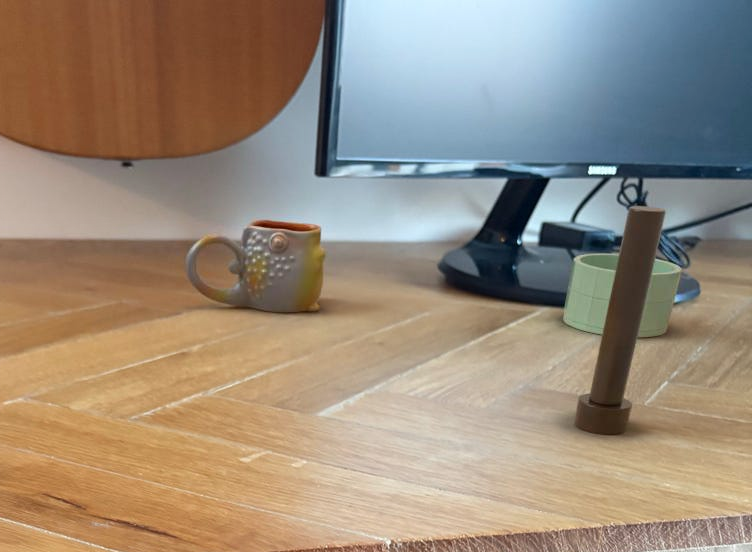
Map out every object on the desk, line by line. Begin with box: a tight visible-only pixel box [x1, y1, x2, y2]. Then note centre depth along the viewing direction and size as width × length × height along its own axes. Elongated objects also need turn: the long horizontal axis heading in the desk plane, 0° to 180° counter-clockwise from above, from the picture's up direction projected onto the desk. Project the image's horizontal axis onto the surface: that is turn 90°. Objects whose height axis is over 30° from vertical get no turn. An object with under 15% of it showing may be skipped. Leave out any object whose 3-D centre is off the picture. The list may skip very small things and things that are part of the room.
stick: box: [573, 205, 667, 435], centre depth 59 cm, size 3×3×13 cm
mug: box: [185, 219, 327, 313], centre depth 84 cm, size 12×7×7 cm, turn 105°
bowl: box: [562, 253, 683, 339], centre depth 84 cm, size 9×9×5 cm
